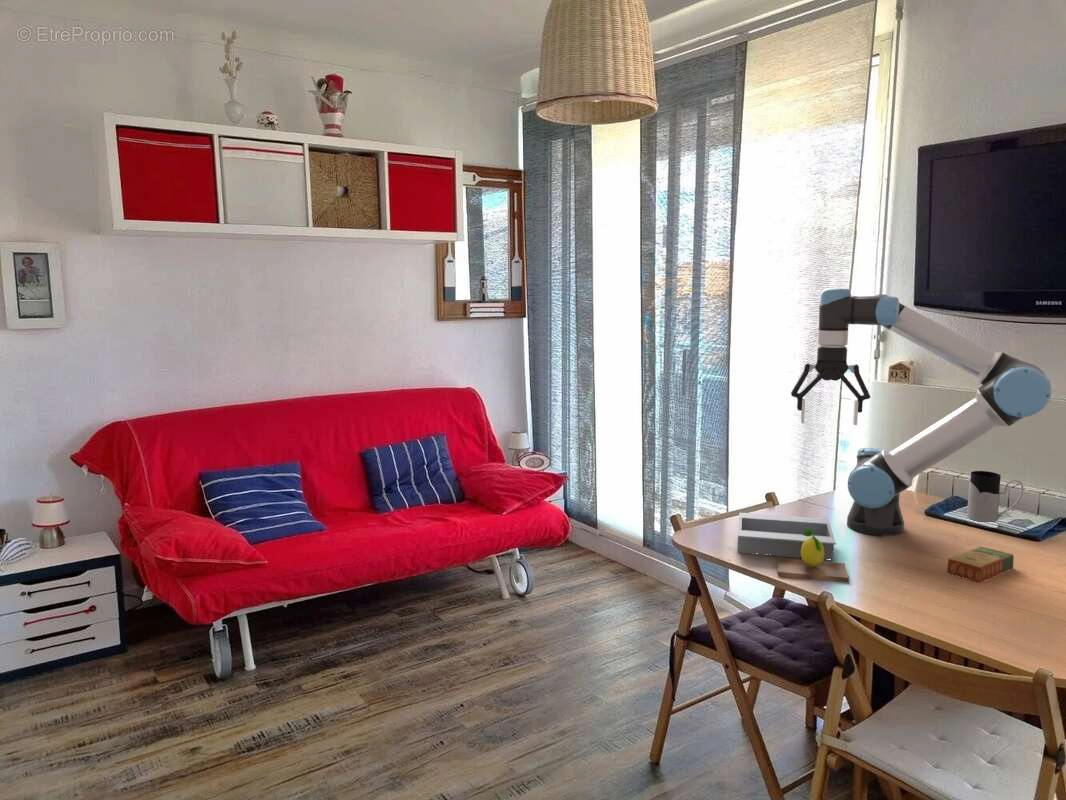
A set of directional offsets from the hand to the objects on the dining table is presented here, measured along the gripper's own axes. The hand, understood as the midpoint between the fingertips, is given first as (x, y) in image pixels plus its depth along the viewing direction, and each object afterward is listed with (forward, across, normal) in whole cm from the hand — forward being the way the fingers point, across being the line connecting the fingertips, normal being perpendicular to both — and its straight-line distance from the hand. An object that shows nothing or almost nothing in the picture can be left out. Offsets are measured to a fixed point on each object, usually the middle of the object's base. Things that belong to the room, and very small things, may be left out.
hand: (828, 423), depth 219 cm
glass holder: (+32, -48, -21) cm, 61 cm away
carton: (+32, -35, +20) cm, 52 cm away
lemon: (+31, +5, +31) cm, 44 cm away
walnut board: (+32, +5, +31) cm, 45 cm away
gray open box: (+32, +11, +15) cm, 37 cm away
